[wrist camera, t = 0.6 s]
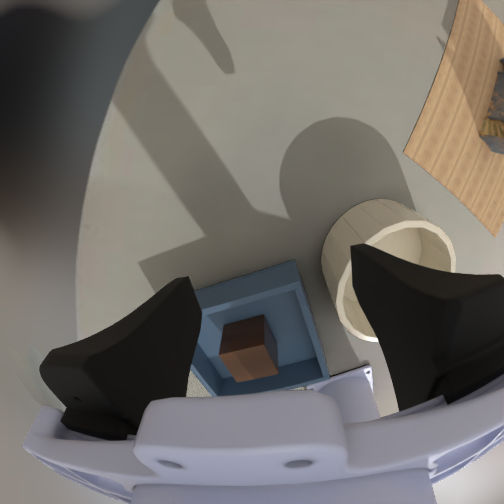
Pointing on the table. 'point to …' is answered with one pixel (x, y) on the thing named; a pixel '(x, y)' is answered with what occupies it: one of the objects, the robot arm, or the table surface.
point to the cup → (386, 239)
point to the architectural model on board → (498, 121)
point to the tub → (280, 322)
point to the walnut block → (249, 349)
